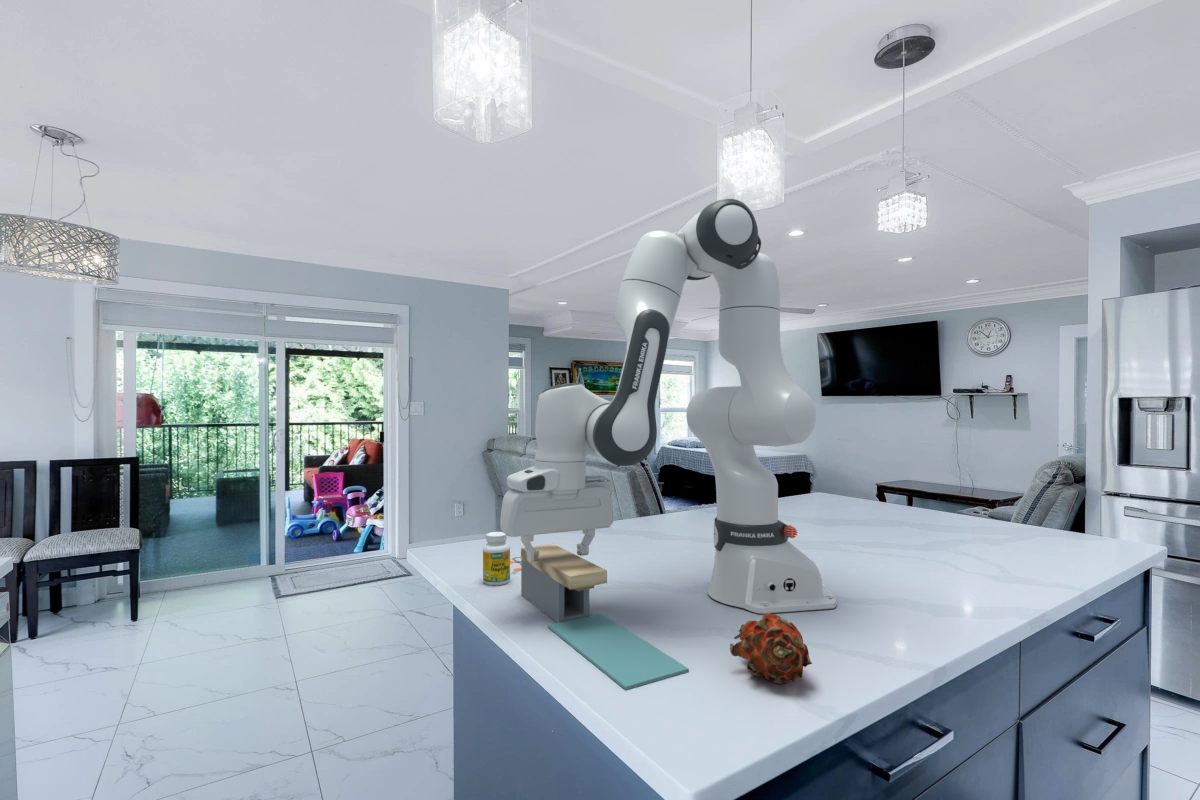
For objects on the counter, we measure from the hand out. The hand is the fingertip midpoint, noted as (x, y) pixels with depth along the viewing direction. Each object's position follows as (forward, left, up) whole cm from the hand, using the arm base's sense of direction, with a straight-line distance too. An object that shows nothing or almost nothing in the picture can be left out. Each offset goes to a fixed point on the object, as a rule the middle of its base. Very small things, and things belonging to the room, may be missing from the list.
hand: (558, 557), depth 98 cm
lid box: (+1, -3, -9) cm, 10 cm away
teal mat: (-9, +15, -9) cm, 19 cm away
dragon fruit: (-29, +23, -9) cm, 38 cm away
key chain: (+11, -28, -10) cm, 32 cm away
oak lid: (0, 0, -3) cm, 3 cm away
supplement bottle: (+14, -16, -9) cm, 23 cm away
